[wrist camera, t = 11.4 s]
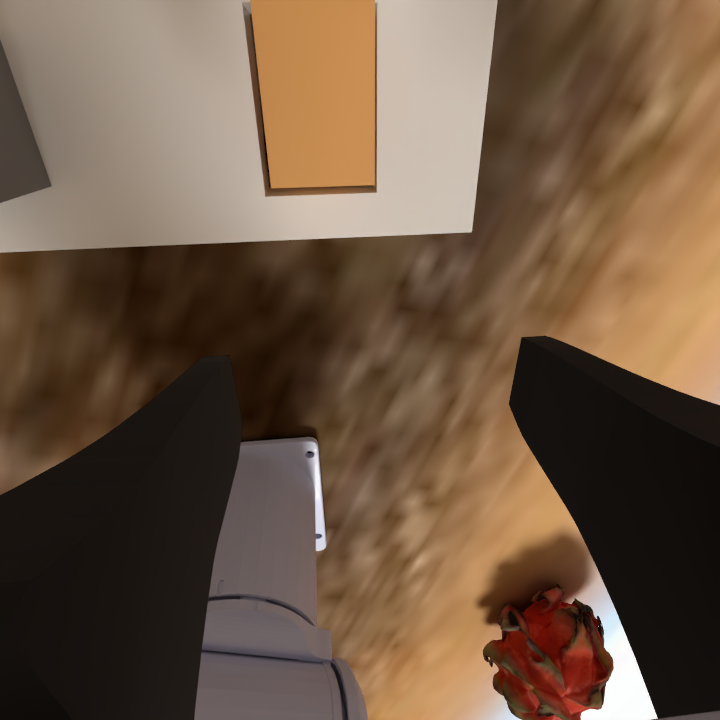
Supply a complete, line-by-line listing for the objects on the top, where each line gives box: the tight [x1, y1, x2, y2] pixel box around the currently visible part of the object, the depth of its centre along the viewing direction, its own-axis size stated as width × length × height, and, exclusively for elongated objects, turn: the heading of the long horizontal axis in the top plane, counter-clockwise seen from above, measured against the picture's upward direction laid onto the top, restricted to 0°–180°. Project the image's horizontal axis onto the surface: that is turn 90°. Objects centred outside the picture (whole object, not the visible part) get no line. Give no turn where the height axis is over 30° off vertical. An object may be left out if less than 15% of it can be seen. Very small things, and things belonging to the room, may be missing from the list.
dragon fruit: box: [483, 584, 613, 720], centre depth 33 cm, size 8×8×12 cm
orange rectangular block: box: [250, 0, 375, 188], centre depth 14 cm, size 4×3×6 cm, turn 1°
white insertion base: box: [0, 0, 497, 252], centre depth 14 cm, size 9×22×6 cm, turn 91°
